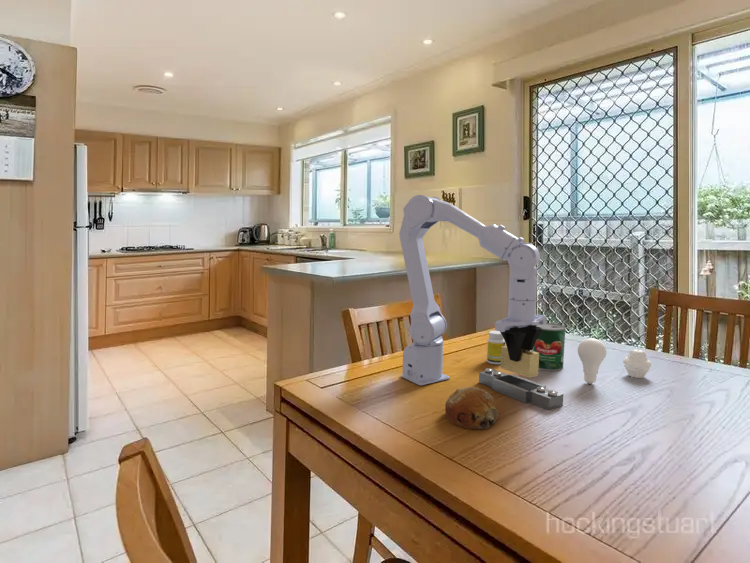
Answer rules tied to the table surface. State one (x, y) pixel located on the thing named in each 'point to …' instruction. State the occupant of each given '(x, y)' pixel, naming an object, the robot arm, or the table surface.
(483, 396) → the bread roll
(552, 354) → the canned tomato
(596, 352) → the lightbulb
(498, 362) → the supplement bottle
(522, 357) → the link
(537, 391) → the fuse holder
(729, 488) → the table surface
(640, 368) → the muffin
